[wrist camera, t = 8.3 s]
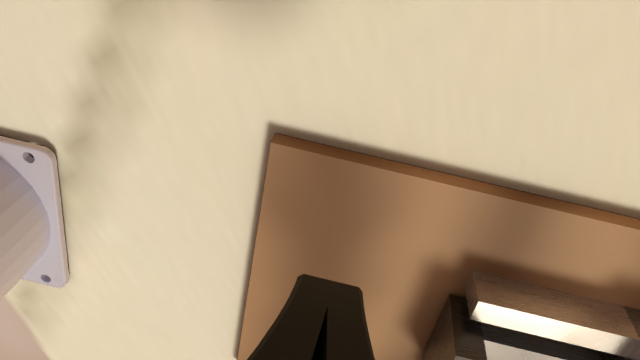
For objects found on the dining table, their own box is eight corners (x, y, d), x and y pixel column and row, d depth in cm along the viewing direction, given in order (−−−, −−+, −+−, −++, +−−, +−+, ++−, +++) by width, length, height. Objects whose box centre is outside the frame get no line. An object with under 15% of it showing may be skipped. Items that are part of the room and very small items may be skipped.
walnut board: (239, 362, 27) (235, 374, 27) (275, 133, 20) (270, 142, 19) (570, 444, 27) (575, 458, 26) (735, 242, 19) (747, 255, 19)
